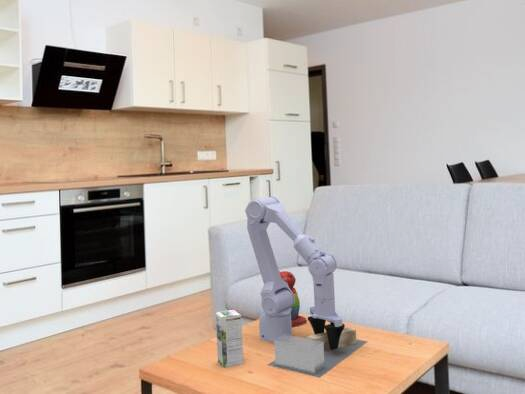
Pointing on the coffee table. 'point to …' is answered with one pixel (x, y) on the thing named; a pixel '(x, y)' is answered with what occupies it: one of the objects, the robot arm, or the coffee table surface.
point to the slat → (345, 339)
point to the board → (330, 358)
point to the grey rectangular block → (299, 353)
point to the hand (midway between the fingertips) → (326, 344)
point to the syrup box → (229, 338)
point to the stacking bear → (295, 319)
